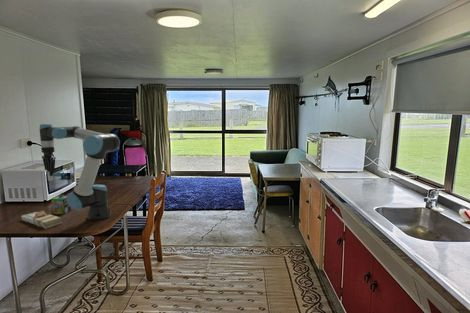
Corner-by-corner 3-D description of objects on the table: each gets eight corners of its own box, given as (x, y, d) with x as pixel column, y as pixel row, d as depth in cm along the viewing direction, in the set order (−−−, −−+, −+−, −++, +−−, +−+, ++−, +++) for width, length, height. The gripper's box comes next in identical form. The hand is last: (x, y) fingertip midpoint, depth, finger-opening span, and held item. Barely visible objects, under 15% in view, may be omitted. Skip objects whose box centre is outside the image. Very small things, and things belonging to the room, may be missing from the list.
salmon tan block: (46, 214, 198) (44, 210, 199) (38, 216, 194) (36, 212, 195) (43, 219, 201) (41, 215, 202) (35, 221, 196) (33, 218, 197)
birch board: (61, 223, 195) (61, 217, 194) (46, 228, 186) (45, 222, 186) (49, 219, 202) (49, 214, 201) (34, 224, 193) (33, 218, 192)
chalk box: (59, 210, 221) (57, 191, 219) (71, 210, 221) (69, 191, 219) (51, 214, 212) (50, 194, 210) (64, 214, 212) (62, 194, 210)
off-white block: (36, 212, 204) (36, 217, 205) (28, 215, 200) (28, 219, 200) (41, 214, 201) (41, 218, 202) (33, 216, 197) (33, 220, 198)
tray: (49, 219, 202) (49, 215, 201) (33, 224, 193) (33, 220, 193) (37, 215, 209) (36, 211, 209) (21, 220, 201) (21, 215, 200)
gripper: (58, 146, 201) (61, 180, 204) (48, 145, 207) (50, 178, 210) (47, 147, 194) (50, 182, 198) (36, 146, 200) (39, 180, 204)
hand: (50, 180), depth 204 cm, fingers closed
